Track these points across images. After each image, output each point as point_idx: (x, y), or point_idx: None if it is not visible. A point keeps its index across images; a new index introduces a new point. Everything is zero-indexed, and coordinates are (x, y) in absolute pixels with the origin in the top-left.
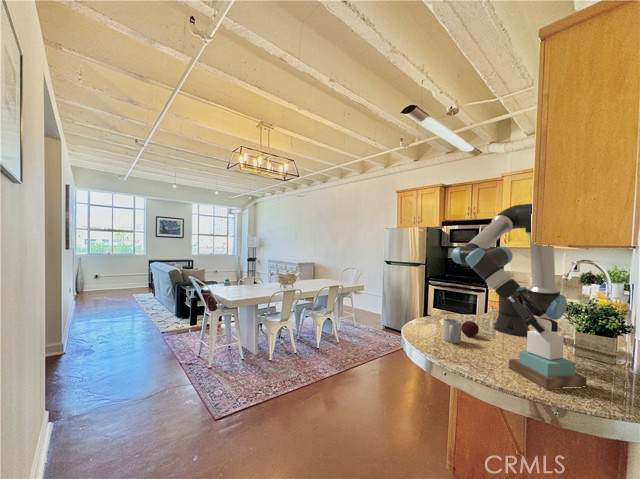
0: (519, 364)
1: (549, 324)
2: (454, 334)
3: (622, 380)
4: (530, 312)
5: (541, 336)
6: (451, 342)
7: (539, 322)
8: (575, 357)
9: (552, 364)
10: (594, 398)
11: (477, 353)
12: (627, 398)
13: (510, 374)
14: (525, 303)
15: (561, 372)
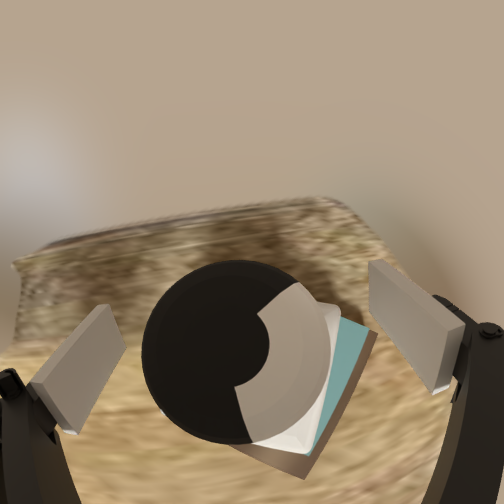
0: (326, 438)
1: (311, 298)
2: None
3: (104, 244)
4: (494, 399)
5: (332, 361)
6: None
7: (453, 317)
8: (24, 339)
9: (349, 320)
10: (299, 256)
11: None
12: (220, 217)
13: (354, 443)
14: None
15: None
